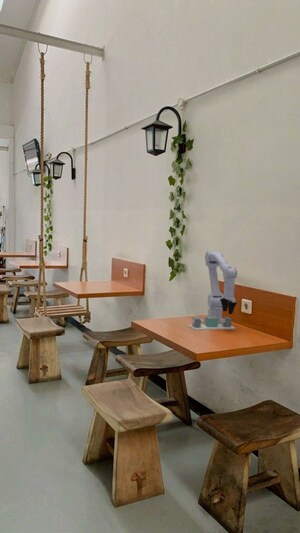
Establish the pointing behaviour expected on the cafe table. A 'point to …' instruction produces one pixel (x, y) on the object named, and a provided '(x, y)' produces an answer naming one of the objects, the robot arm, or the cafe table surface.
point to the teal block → (211, 322)
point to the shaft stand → (197, 326)
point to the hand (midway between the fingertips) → (227, 312)
